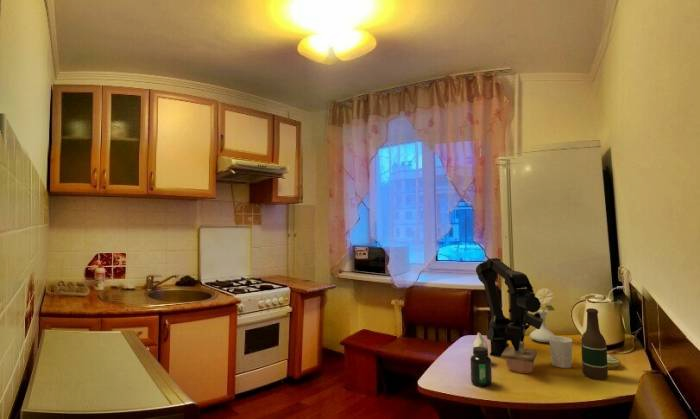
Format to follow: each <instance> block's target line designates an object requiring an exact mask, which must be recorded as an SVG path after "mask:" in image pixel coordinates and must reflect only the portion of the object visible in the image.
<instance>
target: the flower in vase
mask: <svg viewBox="0 0 700 419" xmlns="http://www.w3.org/2000/svg"><path fill="white" fill-rule="evenodd" d="M535 297H537V298H538V299H539V301H540V303H541V306H540V308H542V309H539V310H538V311H537V312H536V313H539V314H541V318H543V323H542V325H541V328H540V329H536V328H535V329H534V330H533V331H532V332H531V333H530V334H529V338H530V339H532V340H533V341H536V342H539V343H550V342H549V337H551V336H556V335H555V333H553V332H552V331H551V330H549V329H548V328H547V325H546V316H547V314H548V313H549V311H550V312H551V311H555V308H554V306H553V305H552V304H550V303H551V302H552V301H553V299H554V297H555V296H554V292H553V291H552V290H551V289H549V288H547V287H546V288H541V289H538V291H536V293H535ZM542 305H545V307H543V306H542ZM546 309H547V310H546Z"/></svg>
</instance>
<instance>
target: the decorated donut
mask: <svg viewBox="0 0 700 419" xmlns="http://www.w3.org/2000/svg"><path fill="white" fill-rule="evenodd" d="M621 363H622V362H621V360H620V359H619V357H617V356H615V355H612V354H609V353H607V366H608V370H615V369H618V368H620V366H621Z"/></svg>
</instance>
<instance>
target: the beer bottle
mask: <svg viewBox="0 0 700 419" xmlns="http://www.w3.org/2000/svg"><path fill="white" fill-rule="evenodd" d="M585 313H586V328H585V329H586V330H585V331H584V333H583V334H582V335H581V342H580V344H581V345H580V347H581V368H582V374H583V375H584V376H585V377H586V378H588V379H590V380H594V381H605V380H607V379H608V377H609V369H608V366H607V354H608V346H607V342H606V339H605V337H604V335H603V334H602V333H601V329H600V323H599V315H598V314H599V310H598V309H597V308H592V307H591V308H586V311H585Z"/></svg>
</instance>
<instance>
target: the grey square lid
mask: <svg viewBox="0 0 700 419" xmlns="http://www.w3.org/2000/svg"><path fill="white" fill-rule="evenodd" d="M537 356H538V350H535V349H526V348H525V341H520V346H519V351H515V349H514V347H513V346H510V345H509V346H507V347H506V349H505V350H504V351H503V353H502V354H501V357H500V358H505V359H506V358H509V359H515V360H521V361H526V362H532V363H533V362H534V361H535V359H536V358H537Z"/></svg>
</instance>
